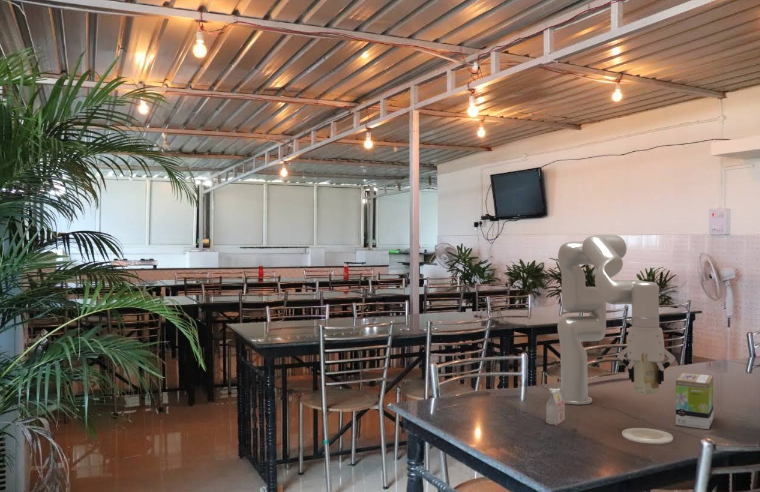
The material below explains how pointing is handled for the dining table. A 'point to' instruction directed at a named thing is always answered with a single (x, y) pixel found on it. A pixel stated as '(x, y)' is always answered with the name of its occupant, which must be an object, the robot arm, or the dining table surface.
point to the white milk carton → (555, 409)
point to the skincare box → (645, 376)
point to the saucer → (647, 436)
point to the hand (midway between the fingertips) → (646, 382)
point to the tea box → (694, 400)
